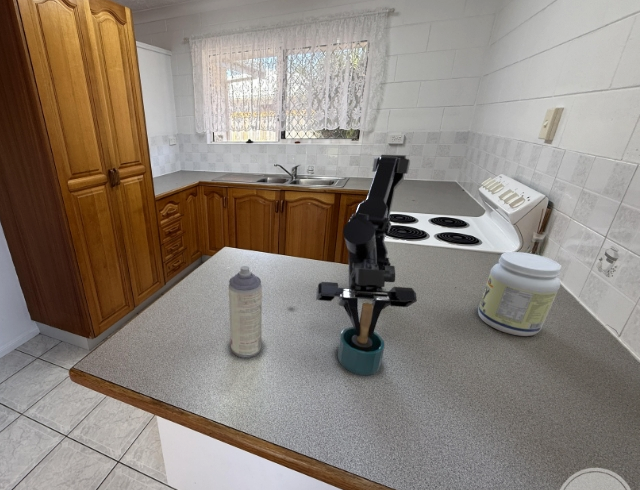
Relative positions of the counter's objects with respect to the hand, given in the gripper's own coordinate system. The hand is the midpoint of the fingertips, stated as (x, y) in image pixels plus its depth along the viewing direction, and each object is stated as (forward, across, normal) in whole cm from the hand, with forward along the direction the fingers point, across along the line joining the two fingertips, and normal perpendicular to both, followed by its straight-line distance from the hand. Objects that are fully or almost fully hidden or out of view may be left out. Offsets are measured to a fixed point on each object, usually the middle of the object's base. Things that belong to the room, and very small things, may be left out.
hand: (364, 336), depth 62 cm
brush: (+4, 0, +6) cm, 7 cm away
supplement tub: (-10, +38, +20) cm, 44 cm away
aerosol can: (+4, -24, +6) cm, 25 cm away
